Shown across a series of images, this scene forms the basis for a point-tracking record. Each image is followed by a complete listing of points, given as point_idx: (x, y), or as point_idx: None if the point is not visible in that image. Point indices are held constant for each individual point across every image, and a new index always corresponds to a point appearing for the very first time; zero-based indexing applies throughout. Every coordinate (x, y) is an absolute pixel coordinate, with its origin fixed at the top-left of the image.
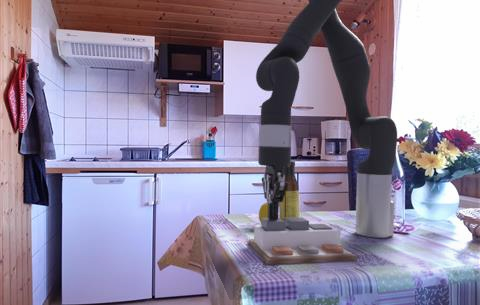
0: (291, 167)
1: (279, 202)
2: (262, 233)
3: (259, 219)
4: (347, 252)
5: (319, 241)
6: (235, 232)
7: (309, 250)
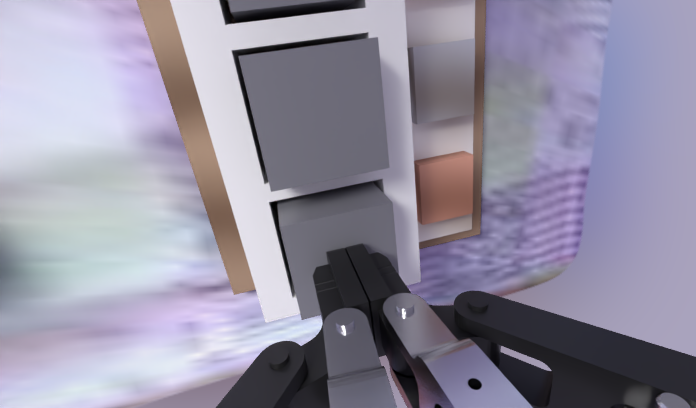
0: None
1: (419, 300)
2: (410, 281)
3: None
4: None
5: None
6: (39, 349)
7: (473, 83)
